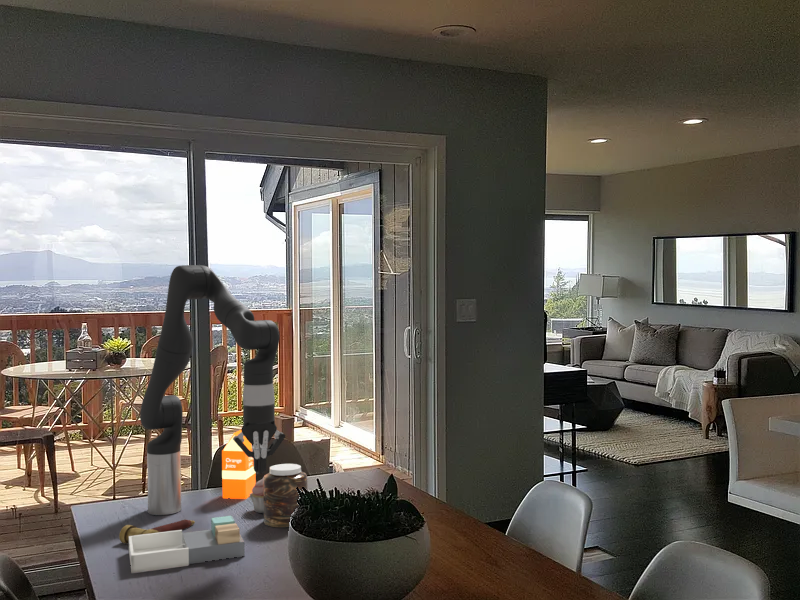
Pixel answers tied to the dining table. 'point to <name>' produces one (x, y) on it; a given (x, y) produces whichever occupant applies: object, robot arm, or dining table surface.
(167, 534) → the tray
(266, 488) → the jar
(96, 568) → the dining table surface
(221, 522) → the seafoam green cuboid
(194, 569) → the dining table surface
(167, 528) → the gavel
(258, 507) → the cupcake
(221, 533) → the thick tan wooden block
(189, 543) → the board
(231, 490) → the orange juice
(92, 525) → the dining table surface
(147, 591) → the dining table surface
